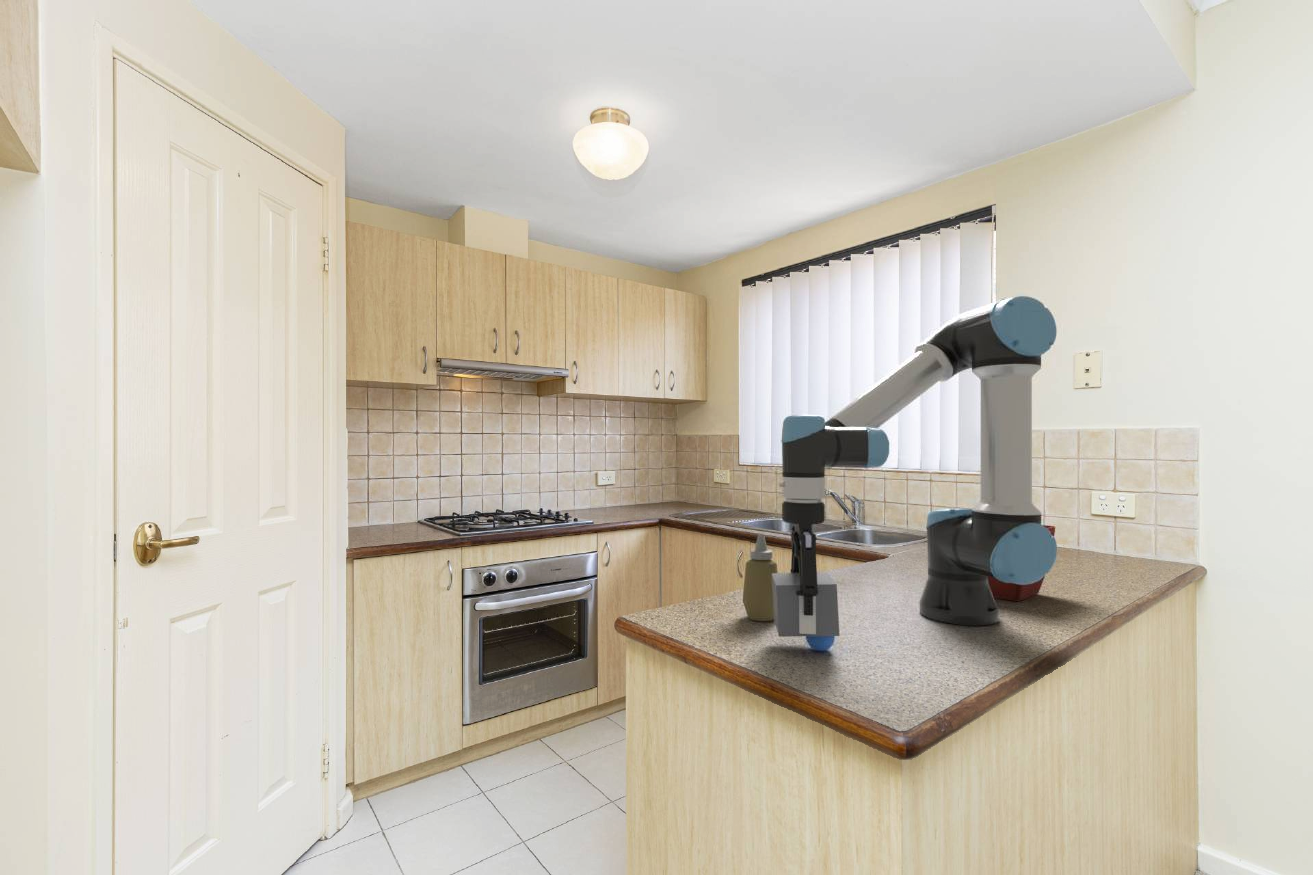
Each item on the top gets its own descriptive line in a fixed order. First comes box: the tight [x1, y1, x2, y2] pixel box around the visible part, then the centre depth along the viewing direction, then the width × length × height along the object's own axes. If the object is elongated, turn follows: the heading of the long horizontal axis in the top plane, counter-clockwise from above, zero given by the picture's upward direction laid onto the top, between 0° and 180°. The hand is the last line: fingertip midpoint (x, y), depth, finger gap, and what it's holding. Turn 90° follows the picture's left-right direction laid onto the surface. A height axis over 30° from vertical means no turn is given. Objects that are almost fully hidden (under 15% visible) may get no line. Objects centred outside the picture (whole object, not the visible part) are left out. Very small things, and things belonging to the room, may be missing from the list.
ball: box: [805, 636, 836, 652], centre depth 106 cm, size 5×5×5 cm
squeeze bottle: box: [742, 532, 779, 622], centre depth 126 cm, size 8×8×18 cm
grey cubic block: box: [772, 571, 840, 638], centre depth 107 cm, size 10×10×9 cm
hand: (803, 623), depth 107 cm, fingers closed on grey cubic block, 10 cm apart
